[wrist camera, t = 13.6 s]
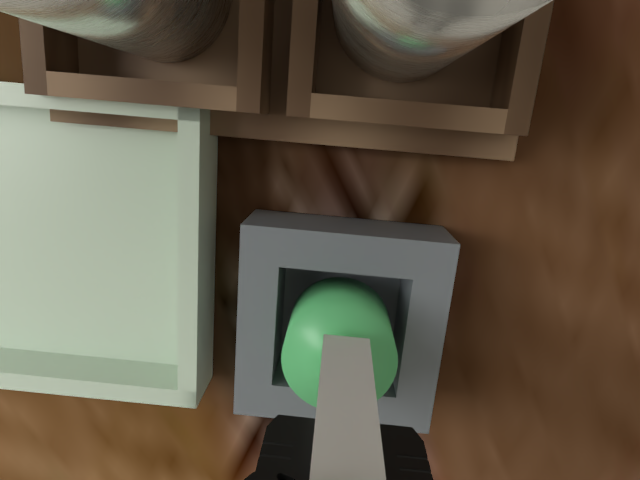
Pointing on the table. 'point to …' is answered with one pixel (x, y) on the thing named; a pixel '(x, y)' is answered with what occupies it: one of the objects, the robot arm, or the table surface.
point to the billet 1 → (132, 23)
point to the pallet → (303, 84)
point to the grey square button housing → (351, 262)
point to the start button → (336, 333)
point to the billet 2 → (420, 32)
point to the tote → (106, 251)
